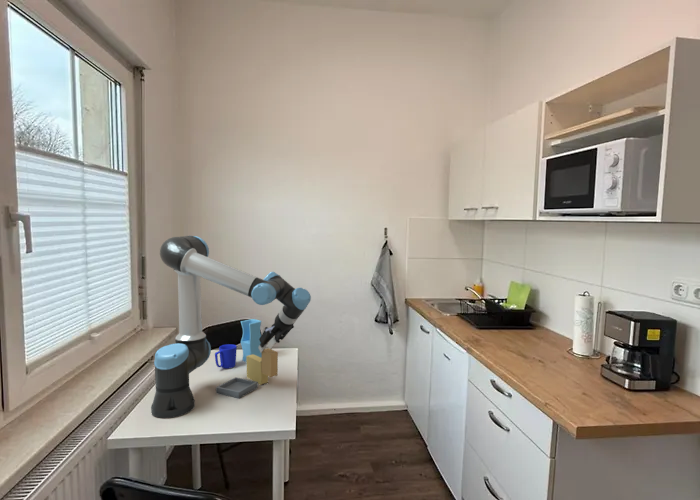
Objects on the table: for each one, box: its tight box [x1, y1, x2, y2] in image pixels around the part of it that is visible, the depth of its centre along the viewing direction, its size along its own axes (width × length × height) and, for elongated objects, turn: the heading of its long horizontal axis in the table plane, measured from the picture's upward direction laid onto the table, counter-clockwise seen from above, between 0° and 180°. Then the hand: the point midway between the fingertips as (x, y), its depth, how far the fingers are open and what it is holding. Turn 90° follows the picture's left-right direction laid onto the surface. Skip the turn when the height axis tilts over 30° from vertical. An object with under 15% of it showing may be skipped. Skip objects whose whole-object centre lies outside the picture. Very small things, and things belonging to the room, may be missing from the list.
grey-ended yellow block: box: [245, 354, 269, 386], centre depth 184 cm, size 12×4×10 cm, turn 44°
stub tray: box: [215, 377, 259, 399], centre depth 174 cm, size 12×12×2 cm
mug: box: [214, 343, 238, 369], centre depth 200 cm, size 8×12×10 cm
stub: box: [261, 347, 279, 378], centre depth 177 cm, size 7×4×10 cm, turn 44°
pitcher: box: [240, 318, 262, 363], centre depth 211 cm, size 8×8×20 cm
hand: (264, 348), depth 179 cm, fingers closed on stub, 3 cm apart
